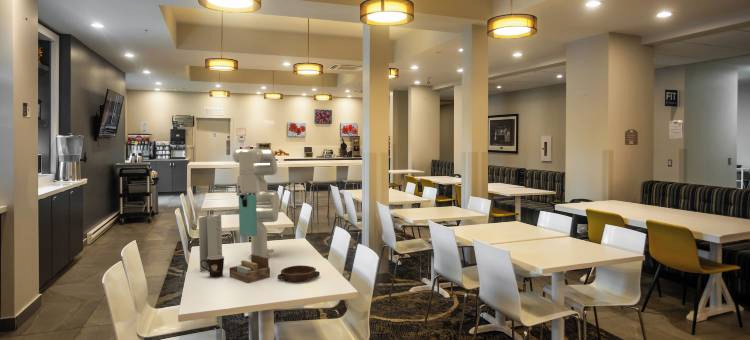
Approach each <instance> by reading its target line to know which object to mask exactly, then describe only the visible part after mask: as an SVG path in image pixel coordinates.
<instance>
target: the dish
mask: <svg viewBox="0 0 750 340" xmlns="http://www.w3.org/2000/svg"><path fill="white" fill-rule="evenodd" d="M319 276H320V271H317V269H316V267H314V266H312V265H311V266H310V265H292V266H287V267H284V268H283V269H282V270H280V273H279V274H278V275H276V277H277V280H285V281H287V282H293V283H299V282H300V283H301V282H306V281H307V282H308V281H310V280H312V279H313V278H315V277H319Z"/></svg>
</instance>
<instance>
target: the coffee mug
mask: <svg viewBox="0 0 750 340" xmlns="http://www.w3.org/2000/svg"><path fill="white" fill-rule="evenodd" d="M207 260H208V261H207ZM207 260H202V261H201V263H202V262H203V261H206V262H207V263H208V267H209V270H208V268H207V269H206V268H205V267H203V266H202V264H201V263H200V262H199V266H200V265H201V266H202V267H203V268H204V269H205V270H206V271H207V272H208V273H209V278H220V277H223V274H224V262H225V256H224V255H222V256H210V257H208V258H207Z"/></svg>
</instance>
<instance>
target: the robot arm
mask: <svg viewBox="0 0 750 340" xmlns="http://www.w3.org/2000/svg"><path fill="white" fill-rule="evenodd" d="M232 158H233V161H234V162H235V163H237V164H238V163H239V164H238V165H239V175H238V176H237V178H236V193H235V195H236V196H237V197H238V198H239V197H240V198H241V199H242V206H243V207H247V200H246V194H251V195H256V205H257V236H250V240H251V241H250V244H251V246H250V248H251V254H255V255H259V256H263V257H267V258H268V259H269V258H270V257H271V255H270V253H274V249H273V248H272V249H268V228H267V227H266V225H265V224H264V223H275V222H277V221H278V220H279V209H280V208H279V206H280V196H279V195H280V194H279V192H278V191H277V190H273V189H268V182H267V181H266V179H265V178H264V177H263V176H275V175H277V173H278V164H277V158H276V154H275V152H274V150H272V149H259V148H258V149H257V148H240V149H239V148H237V149H235V150H234V151H233V154H232ZM251 254H250V255H249V256H248V258H249V259H250V260H251Z"/></svg>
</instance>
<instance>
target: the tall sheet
mask: <svg viewBox="0 0 750 340" xmlns="http://www.w3.org/2000/svg"><path fill="white" fill-rule="evenodd" d="M246 200H247V207H243V206H242V199H241V198H240V197H239V196H238V221H239V222H238V223H239V225H238V226H239V228H238V229H239V234H240V235H244V236H249V237H251V236H257V207H258V205H256V195H251V194H246Z"/></svg>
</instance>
